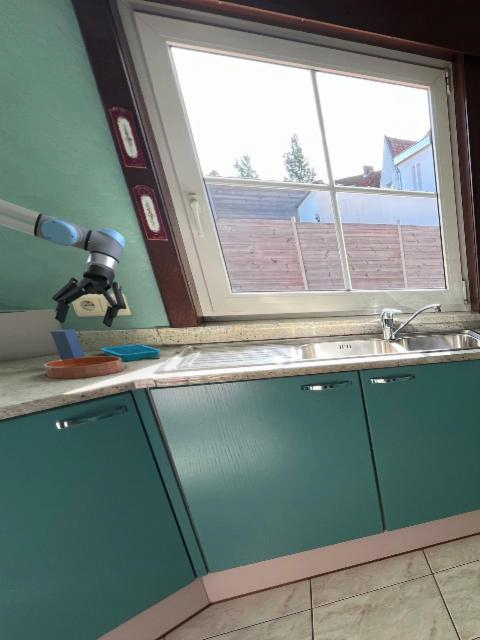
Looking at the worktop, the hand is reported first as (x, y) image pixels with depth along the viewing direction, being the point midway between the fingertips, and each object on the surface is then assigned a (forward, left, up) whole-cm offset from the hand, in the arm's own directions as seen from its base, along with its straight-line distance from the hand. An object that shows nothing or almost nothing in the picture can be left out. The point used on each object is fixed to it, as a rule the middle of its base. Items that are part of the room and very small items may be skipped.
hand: (83, 323), depth 167 cm
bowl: (+2, -25, -13) cm, 28 cm away
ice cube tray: (+10, 0, -13) cm, 16 cm away
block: (-3, -11, -13) cm, 17 cm away
